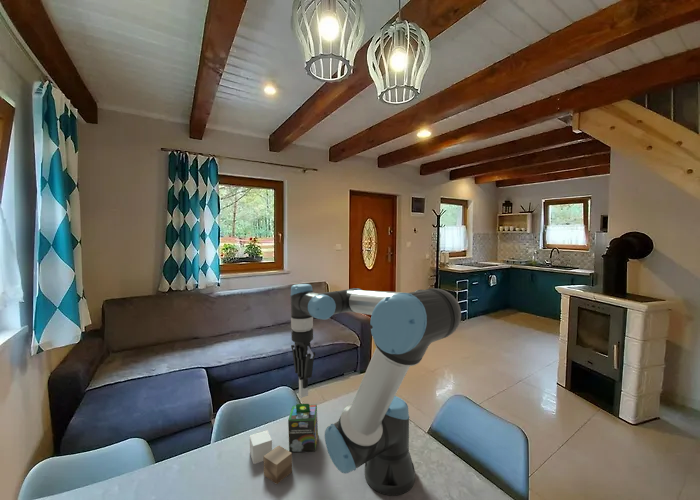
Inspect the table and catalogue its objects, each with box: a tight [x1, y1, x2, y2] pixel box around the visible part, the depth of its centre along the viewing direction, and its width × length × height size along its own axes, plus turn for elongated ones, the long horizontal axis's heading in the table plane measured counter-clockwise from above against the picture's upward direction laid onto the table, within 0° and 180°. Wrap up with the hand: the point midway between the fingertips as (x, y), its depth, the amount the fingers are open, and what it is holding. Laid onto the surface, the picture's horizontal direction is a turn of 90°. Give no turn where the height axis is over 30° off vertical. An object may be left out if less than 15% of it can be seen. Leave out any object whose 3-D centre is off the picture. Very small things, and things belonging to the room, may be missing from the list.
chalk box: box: [287, 403, 319, 453], centre depth 105 cm, size 9×9×15 cm
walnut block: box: [263, 445, 293, 485], centre depth 91 cm, size 6×6×6 cm
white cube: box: [249, 429, 273, 465], centre depth 99 cm, size 6×6×6 cm
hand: (303, 395), depth 104 cm, fingers closed
